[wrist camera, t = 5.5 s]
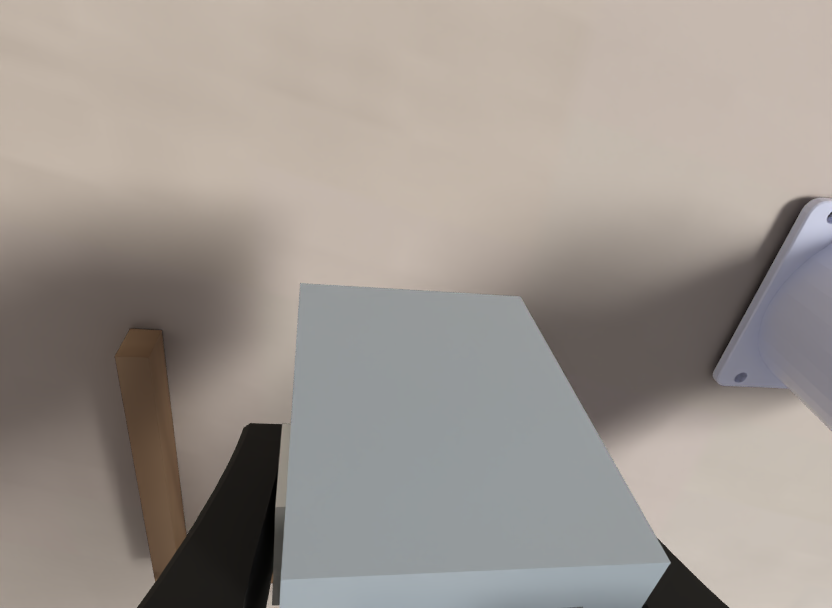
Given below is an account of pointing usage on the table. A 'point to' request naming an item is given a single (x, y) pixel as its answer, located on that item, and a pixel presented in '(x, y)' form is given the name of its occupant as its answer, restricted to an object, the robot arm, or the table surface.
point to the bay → (152, 441)
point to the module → (446, 464)
